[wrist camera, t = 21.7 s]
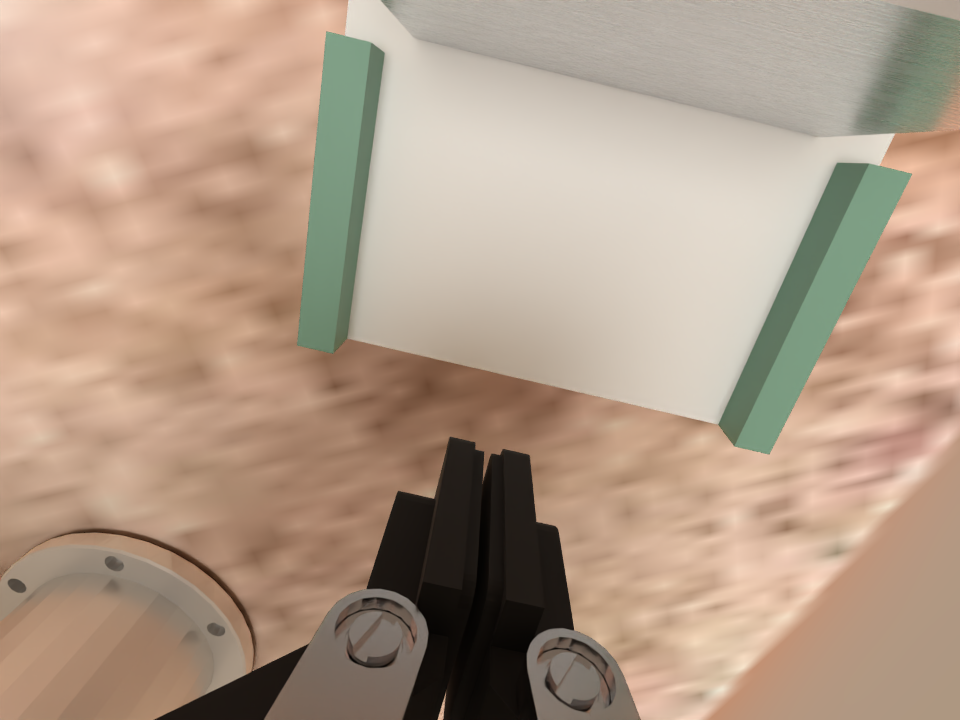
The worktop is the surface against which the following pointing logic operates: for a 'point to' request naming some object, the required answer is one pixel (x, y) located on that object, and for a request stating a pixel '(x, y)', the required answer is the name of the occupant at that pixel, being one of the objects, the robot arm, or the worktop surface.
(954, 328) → the worktop surface
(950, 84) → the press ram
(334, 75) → the frame
